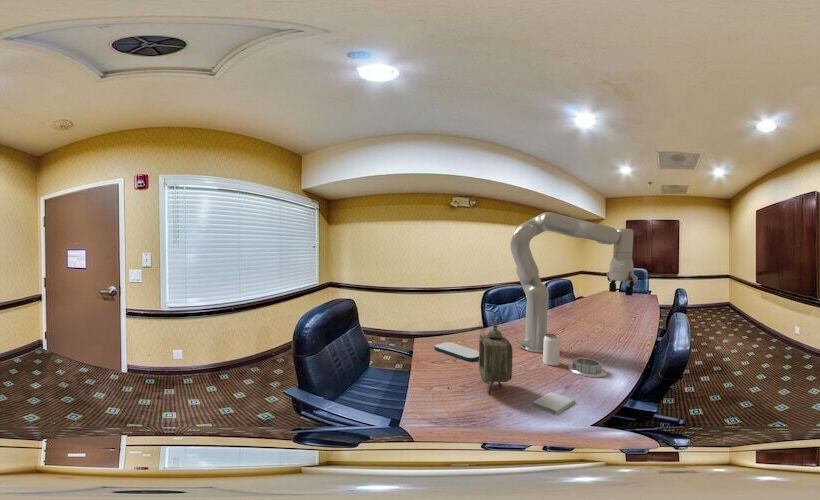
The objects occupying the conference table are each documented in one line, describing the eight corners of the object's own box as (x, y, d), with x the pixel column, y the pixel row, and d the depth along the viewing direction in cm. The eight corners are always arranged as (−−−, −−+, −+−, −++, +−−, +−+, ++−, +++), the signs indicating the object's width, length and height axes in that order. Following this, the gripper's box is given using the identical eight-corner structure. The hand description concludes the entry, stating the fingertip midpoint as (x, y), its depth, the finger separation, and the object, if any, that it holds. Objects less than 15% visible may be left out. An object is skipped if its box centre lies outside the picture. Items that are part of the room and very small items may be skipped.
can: (559, 362, 158) (560, 334, 157) (558, 367, 152) (559, 338, 151) (543, 360, 160) (544, 332, 160) (542, 364, 155) (543, 336, 154)
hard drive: (556, 411, 112) (575, 399, 120) (531, 401, 118) (551, 390, 126) (556, 416, 112) (574, 404, 120) (531, 406, 118) (550, 395, 126)
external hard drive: (487, 357, 163) (487, 353, 163) (470, 363, 156) (471, 359, 156) (448, 345, 181) (448, 341, 181) (431, 350, 174) (431, 345, 173)
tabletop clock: (478, 379, 138) (479, 312, 137) (502, 379, 138) (504, 313, 137) (484, 396, 124) (486, 322, 123) (512, 396, 124) (514, 322, 122)
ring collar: (575, 376, 142) (576, 367, 142) (563, 363, 156) (563, 355, 156) (613, 378, 141) (614, 369, 141) (597, 365, 155) (597, 356, 155)
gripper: (601, 254, 176) (599, 290, 176) (630, 257, 159) (628, 296, 159) (615, 254, 177) (613, 290, 178) (645, 257, 160) (643, 296, 161)
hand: (620, 293), depth 169 cm, fingers open, 9 cm apart
